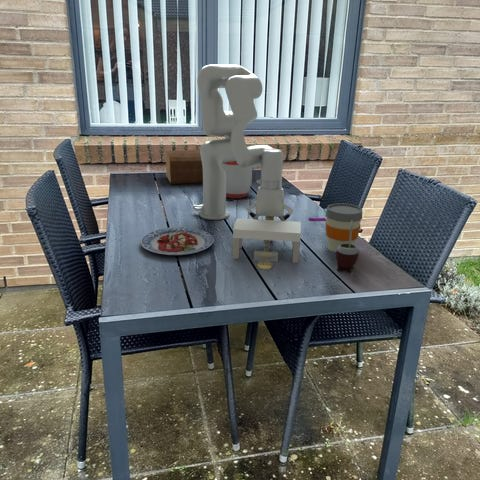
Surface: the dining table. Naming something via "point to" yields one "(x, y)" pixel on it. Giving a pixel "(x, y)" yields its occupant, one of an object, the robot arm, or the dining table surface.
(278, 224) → the white bench
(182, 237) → the ceramic plate
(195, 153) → the bread
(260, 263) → the brass token
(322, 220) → the squeegee
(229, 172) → the citrus juicer
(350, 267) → the mate gourd
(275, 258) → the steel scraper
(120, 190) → the dining table surface
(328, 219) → the reusable coffee cup
